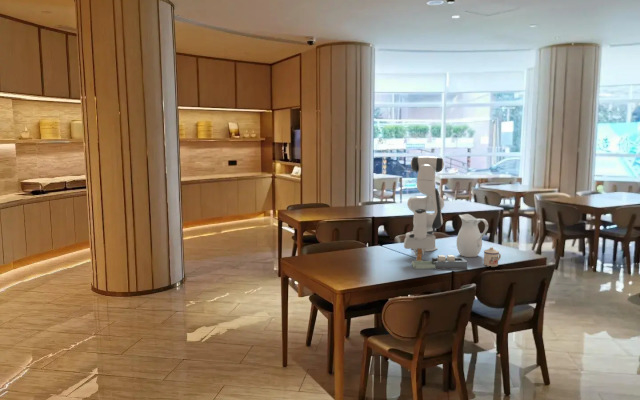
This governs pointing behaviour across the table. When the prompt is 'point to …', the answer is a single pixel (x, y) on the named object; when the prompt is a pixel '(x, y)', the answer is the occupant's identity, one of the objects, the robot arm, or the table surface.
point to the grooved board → (450, 263)
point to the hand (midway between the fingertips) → (419, 255)
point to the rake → (419, 255)
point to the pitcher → (470, 236)
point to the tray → (423, 265)
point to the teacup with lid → (491, 257)
